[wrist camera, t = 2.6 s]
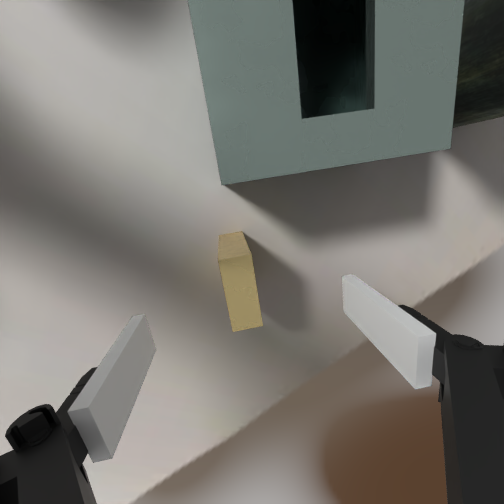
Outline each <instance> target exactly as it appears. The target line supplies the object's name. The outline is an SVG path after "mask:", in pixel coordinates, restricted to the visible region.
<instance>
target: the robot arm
mask: <svg viewBox="0 0 504 504" xmlns="http://www.w3.org/2000/svg"><path fill="white" fill-rule="evenodd" d="M342 288H343V311H344V313H345V314H346V315H347V316H348V317H349V318H350V319H351V320H352V322H353V323H354V324H355V325H356V326H357V327H358V328H359V329H360V330H361V331H362V332H363V333H364V335H365V336H366V337H367V338H368V339H369V340H370V341H371V342H372V343H373V344H374V345H375V346H376V348H377V349H378V350H379V351H380V352H381V353H382V354H383V355H384V356H385V357H386V358H387V359H388V361H389V362H390V363H391V364H392V365H393V366H394V367H395V368H396V369H397V370H398V371H399V372H400V374H401V375H402V376H403V377H404V378H405V379H406V380H407V381H408V382H409V383H410V384H411V385H412V387H414V389H420V388H424V387H429V386H431V385H432V375H433V376H435V377H436V378H437V379H438V380H439V381H440V389H439V399H438V402H441V415H442V429H443V444H444V457H445V471H446V485H447V498H448V499H447V500H448V504H504V345H503V346H494V345H483V344H482V343H481V342H479V341H478V340H476V339H473V338H471V337H468V336H464V335H457V334H455V335H452V334H450V333H449V332H447V331H445V330H444V329H443V328H441V327H440V326H438V325H437V324H435V323H434V322H432V321H431V320H428V318H426V317H425V316H423V315H421V314H420V313H419V312H417V311H416V310H414V309H413V308H410V307H407V306H405V305H398V306H397V305H396V304H394V303H393V302H391V301H390V300H389V299H387V298H386V297H384V296H383V295H382V294H380V293H379V292H377V291H376V290H374V289H373V288H372V287H370V286H369V285H367V284H366V283H365V282H363V281H362V280H360V279H359V278H358V277H356V276H355V275H353V274H351V275H345V276H342ZM155 352H156V347H155V344H154V341H153V338H152V335H151V331H150V328H149V325H148V322H147V319H146V316H145V314H141V315H136V316H132V318H131V319H130V321H129V322H128V324H127V325H126V327H125V328H124V329H123V331H122V332H121V334H120V335H119V337H118V338H117V340H116V341H115V343H114V344H113V346H112V347H111V348H110V350H109V351H108V353H107V354H106V356H105V357H104V359H103V360H102V362H101V363H100V365H99V366H98V367H95V368H92V369H90V370H89V371H88V372H87V373H86V374H85V375H84V376H83V377H82V378H81V379H80V380H79V382H78V383H77V385H76V387H75V388H74V389H73V390H72V391H71V393H70V395H69V396H68V397H67V398H66V400H65V401H64V402H63V404H62V405H61V407H60V408H59V409H58V411H57V412H56V413H55V411H54V409H53V407H52V406H51V405H50V404H44V405H40V406H37V407H35V408H33V409H31V410H29V411H27V412H26V413H24V414H23V415H21V416H20V417H19V418H18V419H16V420H15V421H14V422H13V423H12V424H11V426H10V427H9V428H8V429H7V431H6V434H5V437H6V438H7V440H8V441H9V443H10V445H11V446H12V448H13V449H14V450H12V451H10V452H8V453H6V454H3V455H1V456H0V504H97V503H96V500H95V497H94V494H93V491H92V488H91V485H90V482H89V479H88V476H87V473H86V470H85V468H84V466H83V464H82V463H83V461H84V459H85V457H86V455H87V453H88V454H89V456H90V458H91V460H92V462H93V463H94V462H98V461H103V460H107V459H112V458H113V455H114V453H115V450H116V448H117V446H118V443H119V441H120V438H121V436H122V433H123V431H124V428H125V426H126V423H127V421H128V418H129V416H130V413H131V411H132V408H133V406H134V403H135V401H136V399H137V396H138V394H139V391H140V389H141V386H142V384H143V381H144V379H145V376H146V374H147V371H148V369H149V366H150V364H151V361H152V359H153V357H154V354H155Z"/></svg>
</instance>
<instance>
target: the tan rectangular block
mask: <svg viewBox="0 0 504 504" xmlns="http://www.w3.org/2000/svg"><path fill="white" fill-rule="evenodd" d="M218 263H219V268H220V272H221V277H222V282H223V287H224V292H225V297H226V302H227V306H228V311H229V316H230V321H231V326H232V331H233V332H236V331H240V330H245V329H250V328H255V327H260V326H263V323H262V317H261V311H260V304H259V298H258V292H257V286H256V279H255V273H254V267H253V261H252V254H251V252H250V249H249V247H248V245H247V242H246V240H245V238H244V235H243V233H242V231H241V232H235V233H230V234H224V235H219V245H218Z"/></svg>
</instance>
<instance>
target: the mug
mask: <svg viewBox="0 0 504 504" xmlns="http://www.w3.org/2000/svg"><path fill="white" fill-rule="evenodd" d="M502 116H504V0H465V1H464V11H463V22H462V32H461V43H460V53H459V64H458V74H457V85H456V95H455V106H454V117H453V127H452V128H454V127H458V126H463V125H467V124H472V123H476V122H480V121H485V120H489V119H494V118H498V117H502Z"/></svg>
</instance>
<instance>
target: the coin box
mask: <svg viewBox="0 0 504 504" xmlns="http://www.w3.org/2000/svg"><path fill="white" fill-rule="evenodd" d="M464 1H465V0H188V5H189V10H190V15H191V21H192V26H193V32H194V37H195V43H196V48H197V54H198V59H199V65H200V70H201V76H202V81H203V86H204V92H205V97H206V103H207V108H208V114H209V119H210V125H211V130H212V136H213V141H214V147H215V152H216V157H217V163H218V168H219V174H220V179H221V184H222V185H227V184H233V183H239V182H245V181H252V180H258V179H264V178H270V177H276V176H283V175H289V174H295V173H301V172H308V171H314V170H320V169H326V168H333V167H339V166H345V165H351V164H358V163H364V162H370V161H376V160H383V159H389V158H395V157H401V156H407V155H414V154H420V153H426V152H432V151H439V150H445V149H450V148H451V138H452V127H453V117H454V106H455V95H456V85H457V74H458V64H459V53H460V43H461V32H462V22H463V11H464Z"/></svg>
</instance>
